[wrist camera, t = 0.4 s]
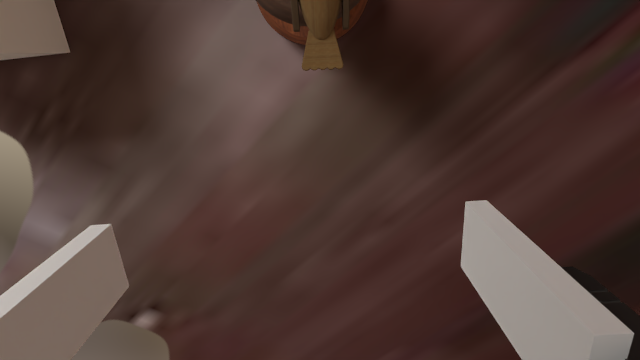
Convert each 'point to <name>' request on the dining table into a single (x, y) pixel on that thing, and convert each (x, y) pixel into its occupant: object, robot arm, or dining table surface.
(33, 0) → the housing
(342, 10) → the bird nest figurine
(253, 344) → the dining table surface
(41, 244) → the dining table surface
